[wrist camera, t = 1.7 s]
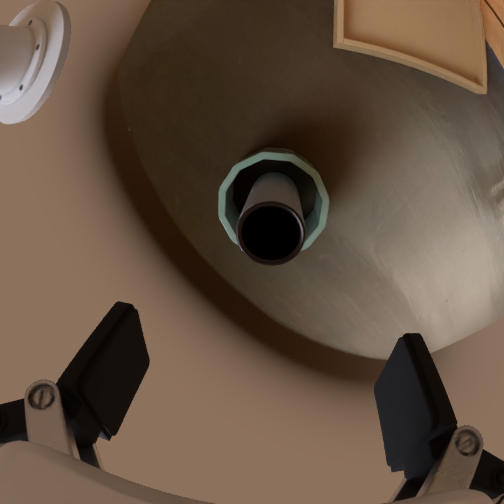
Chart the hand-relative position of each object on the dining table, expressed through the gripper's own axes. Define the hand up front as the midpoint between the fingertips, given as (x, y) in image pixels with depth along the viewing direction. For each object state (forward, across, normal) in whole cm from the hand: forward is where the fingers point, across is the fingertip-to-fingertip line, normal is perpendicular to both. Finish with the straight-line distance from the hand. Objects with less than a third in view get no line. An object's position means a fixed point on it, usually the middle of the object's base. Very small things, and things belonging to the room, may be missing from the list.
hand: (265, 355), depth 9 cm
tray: (+20, -12, -23) cm, 33 cm away
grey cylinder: (+20, +1, 0) cm, 20 cm away
